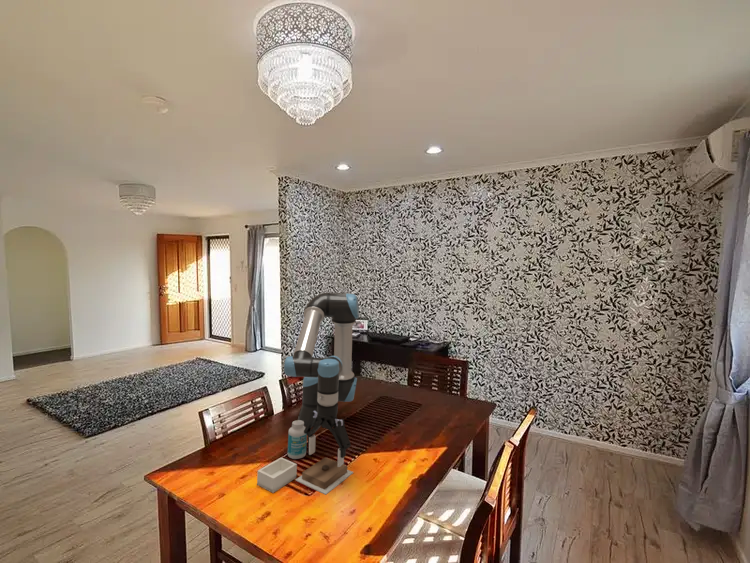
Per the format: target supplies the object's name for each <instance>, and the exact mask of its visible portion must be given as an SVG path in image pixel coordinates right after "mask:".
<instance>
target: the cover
mask: <svg viewBox="0 0 750 563" xmlns="http://www.w3.org/2000/svg"><path fill="white" fill-rule="evenodd" d="M337 464H338V460H337V461H336V460H334V459H332V458H328V457H326V456H325V457H324V458H322V459H320V460H318V461H317V462H316V463H314V464H313V465H311V466H310V467H308V468H307V469H306V470H304V471H302V472H301V476H302V479H303V480H305V481H307V482H309V483H311V484H313V485H316V486H318V487H320V488H322V489H324V490H325V489H326V488H327V487H329V486H330V485H331V484H333V483H334V482H335V481H336V480H338V479H339V478H340V477H342V476H343V475H344V474H346V473H347V470H348V465H346V464H345V463H344V464H343V465H341V466H340V467H337Z"/></svg>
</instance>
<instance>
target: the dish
mask: <svg viewBox="0 0 750 563" xmlns="http://www.w3.org/2000/svg"><path fill="white" fill-rule="evenodd" d="M297 468H298V464H297V463H295V462H293V461H290V460H289V459H287V458H285V457H284V458H283V457H282V456H281V457H279V458H277V459H276V460H273V461H272V462H270V463H269V464H267V465H265V466H263V467H262V468H260V469H257V477H256V478H257V479H256V480H257V482H256V485H257V486H258V487H260V488H262V489H264V490H266V491H269V493H272V494H274V493H275V492H277V491H279V489H282V488H283V487H285V486H286V485H288V484H289V483H290V482H292V481H293V480H296V479H297V473H298V471H297V470H298V469H297Z"/></svg>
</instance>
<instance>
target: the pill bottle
mask: <svg viewBox="0 0 750 563" xmlns="http://www.w3.org/2000/svg"><path fill="white" fill-rule="evenodd" d="M305 428H306V426H304V421H301V420H298V419H297V420H294V421H292V423H291V427H289V428H288V433H287V434H288V435H287V437H288V438H287V457H289V458H290V459H292V460H299V459H300V460H301V459H302V458H304V457H305V456H306V455H307V444H308V436H307V434H305V433H304V430H305Z"/></svg>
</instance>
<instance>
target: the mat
mask: <svg viewBox="0 0 750 563" xmlns="http://www.w3.org/2000/svg"><path fill="white" fill-rule="evenodd" d="M353 474H354V471H351V470H350V469H347V473H346V474H344V475H343V476H342V477H340V478H339V479H338V480H336V481H335V482H334V483H333V484H331V485H330V486H329V487H327V488H326V489H325V490H324V489H322V488H320V487H318V486H316V485H313V484H311V483H309V482H307V481H305V480H303V479H302V475H300V476H299V477H296V478H295V481H296V482H298V483H300V484H302V485H304V486H306V487H308V488H309V489H310V488H311V489H312V490H315V491H317V492H319V493H321V494H323V495H328V494H329V493H330V492H331V491H332V490H334V489H335V488H336V487H338V486H339V485H340V484H341V483H342V482H344V481H346V479H348V478H349V477H350V476H352V475H353Z"/></svg>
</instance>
